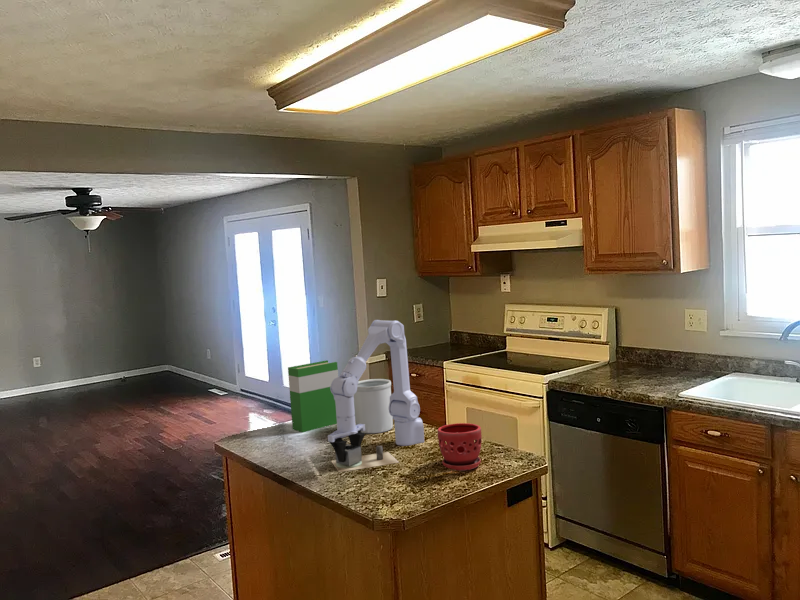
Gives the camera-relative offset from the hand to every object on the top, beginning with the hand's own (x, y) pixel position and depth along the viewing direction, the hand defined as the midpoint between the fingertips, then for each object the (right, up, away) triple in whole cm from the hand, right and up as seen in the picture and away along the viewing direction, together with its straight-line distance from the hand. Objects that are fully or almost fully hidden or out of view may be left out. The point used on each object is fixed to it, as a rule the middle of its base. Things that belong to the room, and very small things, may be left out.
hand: (348, 458), depth 206 cm
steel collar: (0, -1, 0) cm, 1 cm away
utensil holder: (+6, +1, +43) cm, 43 cm away
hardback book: (-16, 0, +52) cm, 55 cm away
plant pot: (+34, -1, -5) cm, 35 cm away
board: (+5, -2, +2) cm, 6 cm away
